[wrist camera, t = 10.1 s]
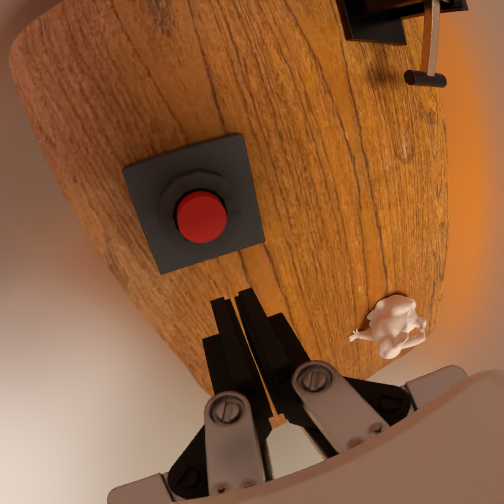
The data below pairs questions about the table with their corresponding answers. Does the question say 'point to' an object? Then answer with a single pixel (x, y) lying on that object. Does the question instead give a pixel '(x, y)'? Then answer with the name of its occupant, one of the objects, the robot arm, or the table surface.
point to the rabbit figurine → (393, 326)
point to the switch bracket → (385, 18)
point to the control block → (190, 180)
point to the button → (201, 217)
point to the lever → (428, 50)
